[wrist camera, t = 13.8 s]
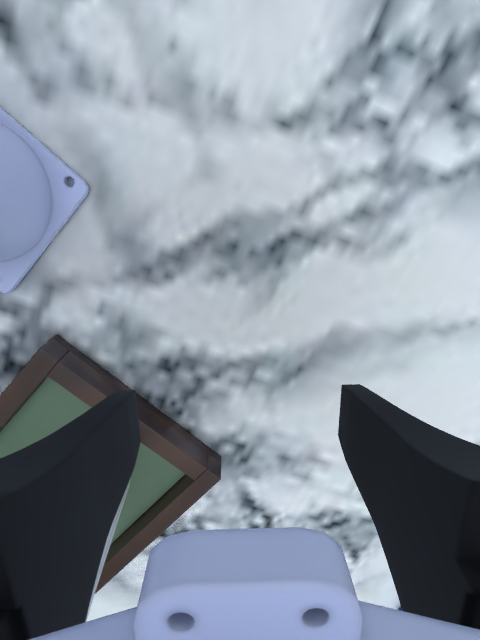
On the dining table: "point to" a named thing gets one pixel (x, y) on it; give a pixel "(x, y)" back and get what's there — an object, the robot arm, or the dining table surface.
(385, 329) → the dining table surface
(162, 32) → the dining table surface
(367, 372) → the dining table surface
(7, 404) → the tray
